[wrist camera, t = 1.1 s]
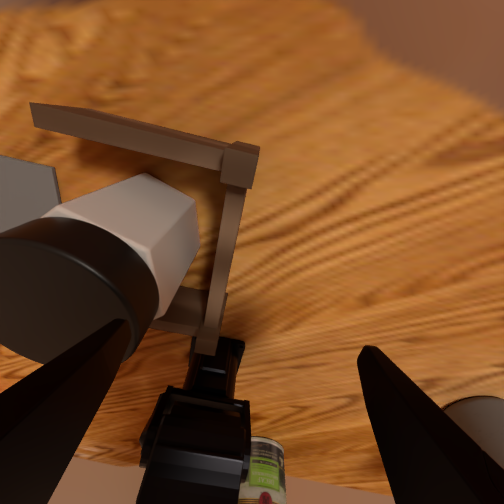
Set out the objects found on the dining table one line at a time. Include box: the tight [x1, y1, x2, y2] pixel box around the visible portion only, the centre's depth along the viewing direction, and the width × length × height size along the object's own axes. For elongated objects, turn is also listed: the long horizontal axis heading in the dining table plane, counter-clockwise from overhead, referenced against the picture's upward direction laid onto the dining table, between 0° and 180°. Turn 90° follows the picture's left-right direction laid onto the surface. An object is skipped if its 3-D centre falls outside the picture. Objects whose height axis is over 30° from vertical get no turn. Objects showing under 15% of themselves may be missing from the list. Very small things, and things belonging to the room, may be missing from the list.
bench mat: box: [0, 155, 61, 233], centre depth 21 cm, size 11×11×1 cm
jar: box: [0, 173, 200, 365], centre depth 16 cm, size 9×8×12 cm
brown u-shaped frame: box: [29, 102, 260, 356], centre depth 18 cm, size 17×13×6 cm
